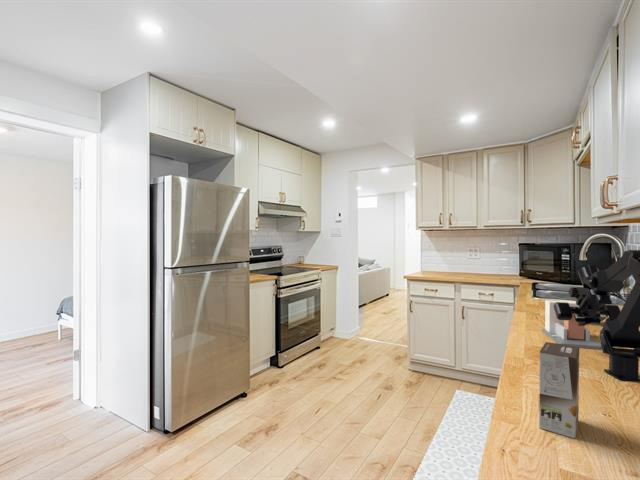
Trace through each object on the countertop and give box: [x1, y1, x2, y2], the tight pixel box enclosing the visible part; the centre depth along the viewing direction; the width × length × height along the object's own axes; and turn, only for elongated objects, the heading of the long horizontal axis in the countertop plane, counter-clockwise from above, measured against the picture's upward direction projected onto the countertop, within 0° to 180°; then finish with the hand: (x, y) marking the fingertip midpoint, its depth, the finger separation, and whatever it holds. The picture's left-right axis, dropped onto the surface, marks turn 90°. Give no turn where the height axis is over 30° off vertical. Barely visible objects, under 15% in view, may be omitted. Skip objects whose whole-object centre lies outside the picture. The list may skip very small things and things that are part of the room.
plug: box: [564, 314, 584, 339], centre depth 129 cm, size 4×5×11 cm
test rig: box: [541, 299, 602, 350], centre depth 130 cm, size 20×14×13 cm
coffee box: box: [538, 341, 580, 439], centre depth 73 cm, size 9×6×16 cm
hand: (579, 324), depth 124 cm, fingers closed
